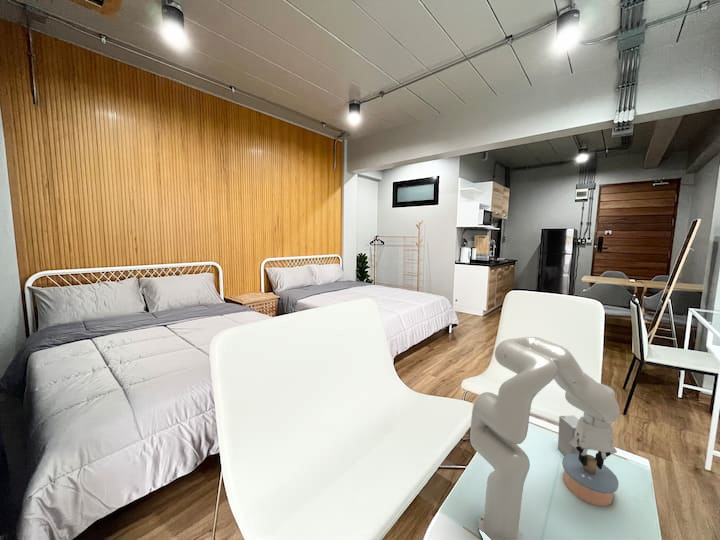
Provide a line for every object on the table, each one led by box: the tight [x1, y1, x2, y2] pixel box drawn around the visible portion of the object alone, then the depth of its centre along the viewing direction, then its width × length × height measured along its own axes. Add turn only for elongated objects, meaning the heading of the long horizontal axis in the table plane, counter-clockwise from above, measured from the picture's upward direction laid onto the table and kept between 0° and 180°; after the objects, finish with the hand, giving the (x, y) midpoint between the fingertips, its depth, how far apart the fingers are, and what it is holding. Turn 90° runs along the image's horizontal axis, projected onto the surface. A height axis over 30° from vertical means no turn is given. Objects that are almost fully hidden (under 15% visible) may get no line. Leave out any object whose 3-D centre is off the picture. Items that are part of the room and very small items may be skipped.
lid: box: [561, 453, 619, 494], centre depth 105 cm, size 16×16×6 cm
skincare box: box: [557, 415, 588, 457], centre depth 120 cm, size 8×7×16 cm
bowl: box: [562, 469, 614, 507], centre depth 106 cm, size 14×14×6 cm
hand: (590, 464), depth 105 cm, fingers open, 4 cm apart
